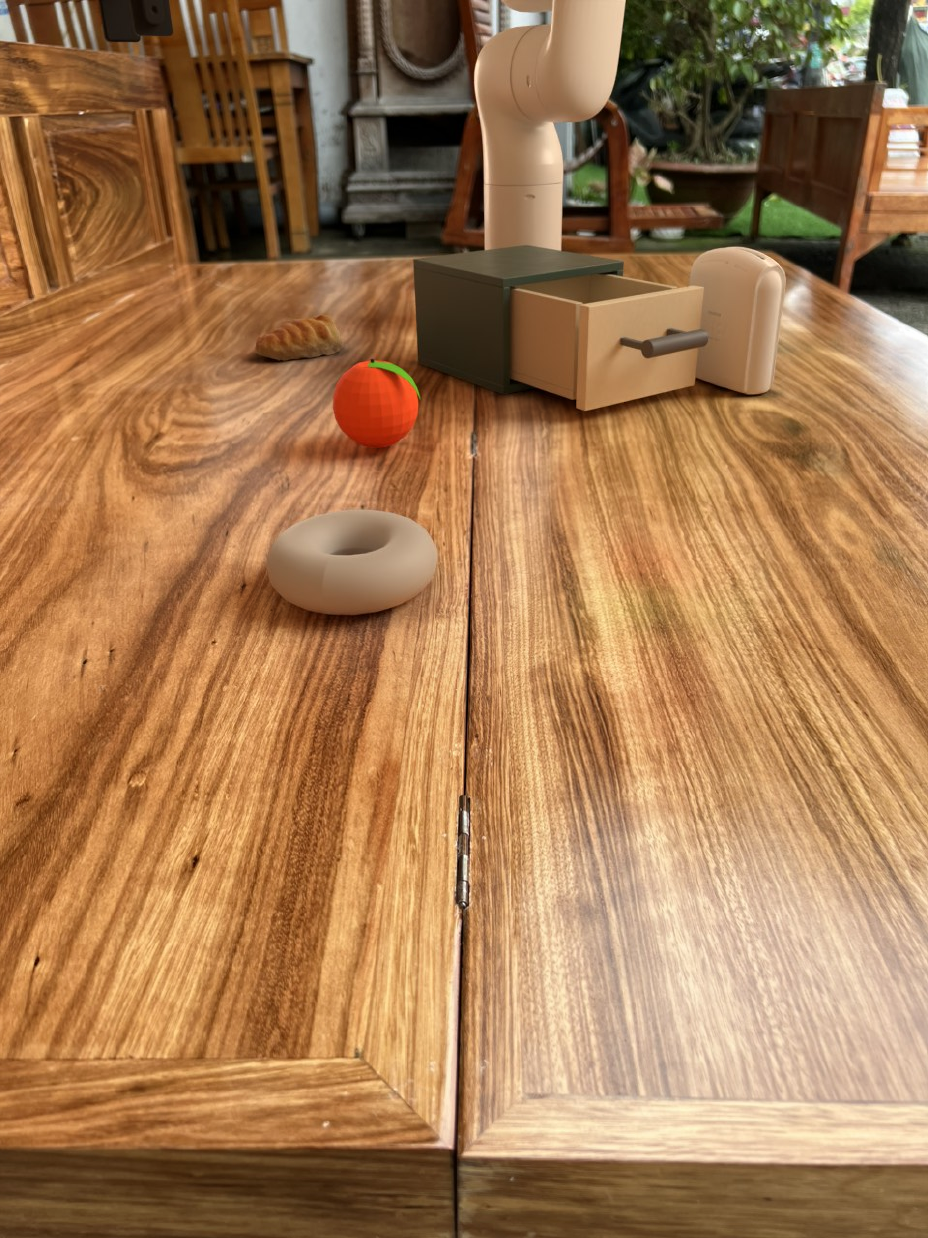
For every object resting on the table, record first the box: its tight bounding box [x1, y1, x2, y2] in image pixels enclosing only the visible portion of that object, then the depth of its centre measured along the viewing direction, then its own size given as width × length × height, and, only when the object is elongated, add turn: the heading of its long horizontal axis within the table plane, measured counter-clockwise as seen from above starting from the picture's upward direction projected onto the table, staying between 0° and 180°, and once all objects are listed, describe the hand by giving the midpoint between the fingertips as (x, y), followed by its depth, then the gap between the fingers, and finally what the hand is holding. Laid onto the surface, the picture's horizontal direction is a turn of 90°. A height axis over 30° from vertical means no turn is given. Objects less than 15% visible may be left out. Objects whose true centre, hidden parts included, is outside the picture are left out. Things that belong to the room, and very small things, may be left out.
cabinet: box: [412, 245, 625, 395], centre depth 98 cm, size 16×15×11 cm
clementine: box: [332, 358, 422, 449], centre depth 77 cm, size 8×7×7 cm
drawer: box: [510, 273, 708, 412], centre depth 88 cm, size 19×13×9 cm
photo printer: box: [688, 246, 787, 395], centre depth 90 cm, size 10×4×12 cm, turn 26°
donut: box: [265, 509, 439, 616], centre depth 56 cm, size 10×4×10 cm
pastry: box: [254, 314, 343, 362], centre depth 107 cm, size 9×7×4 cm
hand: (138, 38), depth 85 cm, fingers open, 9 cm apart
